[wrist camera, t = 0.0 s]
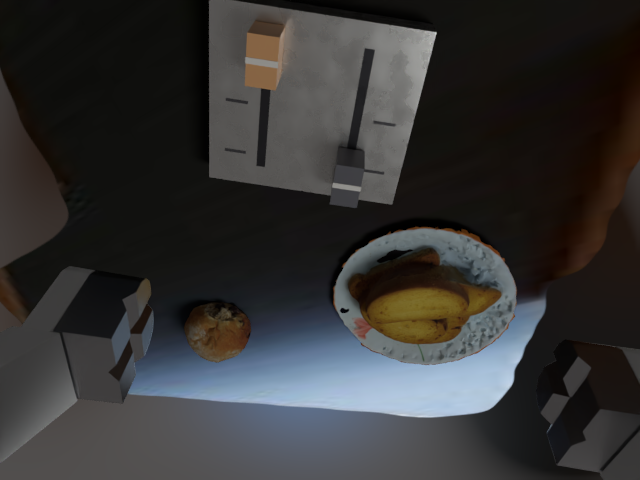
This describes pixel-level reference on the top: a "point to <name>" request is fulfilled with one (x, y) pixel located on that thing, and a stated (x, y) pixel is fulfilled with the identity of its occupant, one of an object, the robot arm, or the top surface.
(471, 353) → the food on plate
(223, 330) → the bread roll
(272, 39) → the orange fader
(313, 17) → the mixing panel
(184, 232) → the top surface
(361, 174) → the black fader
